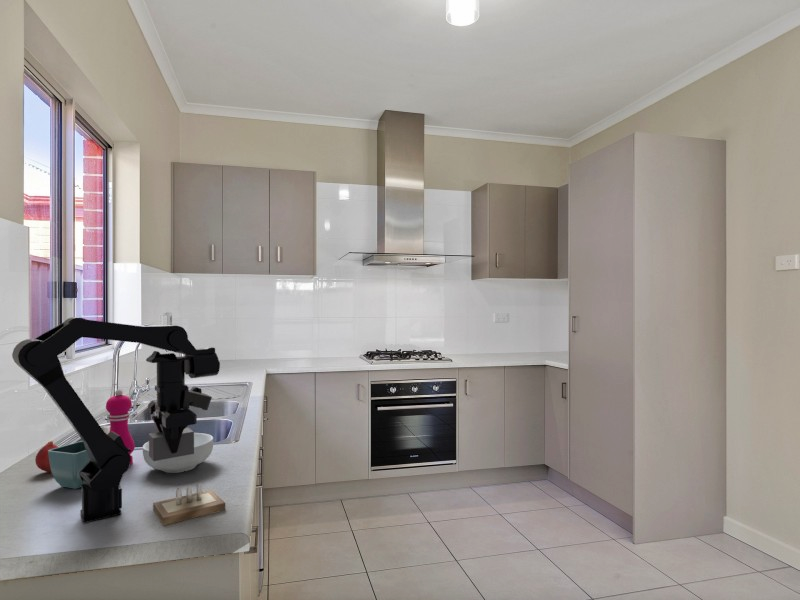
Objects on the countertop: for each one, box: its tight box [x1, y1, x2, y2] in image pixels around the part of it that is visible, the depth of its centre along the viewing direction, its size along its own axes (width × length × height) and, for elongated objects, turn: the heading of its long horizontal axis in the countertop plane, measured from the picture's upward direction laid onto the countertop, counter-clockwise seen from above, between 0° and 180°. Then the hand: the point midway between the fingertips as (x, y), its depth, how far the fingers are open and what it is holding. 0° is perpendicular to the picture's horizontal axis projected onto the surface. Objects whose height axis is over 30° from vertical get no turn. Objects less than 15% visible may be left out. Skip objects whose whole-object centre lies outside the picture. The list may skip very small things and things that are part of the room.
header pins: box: [175, 483, 203, 506], centre depth 106 cm, size 5×1×4 cm, turn 127°
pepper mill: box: [105, 388, 136, 466], centre depth 134 cm, size 7×7×20 cm
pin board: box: [152, 489, 226, 526], centre depth 106 cm, size 12×9×2 cm
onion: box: [34, 440, 59, 474], centre depth 129 cm, size 6×6×8 cm
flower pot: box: [48, 440, 90, 490], centre depth 120 cm, size 9×9×9 cm
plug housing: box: [148, 427, 195, 461], centre depth 114 cm, size 8×4×5 cm, turn 127°
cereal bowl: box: [142, 432, 214, 474], centre depth 132 cm, size 17×17×7 cm
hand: (171, 450), depth 114 cm, fingers closed on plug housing, 4 cm apart
